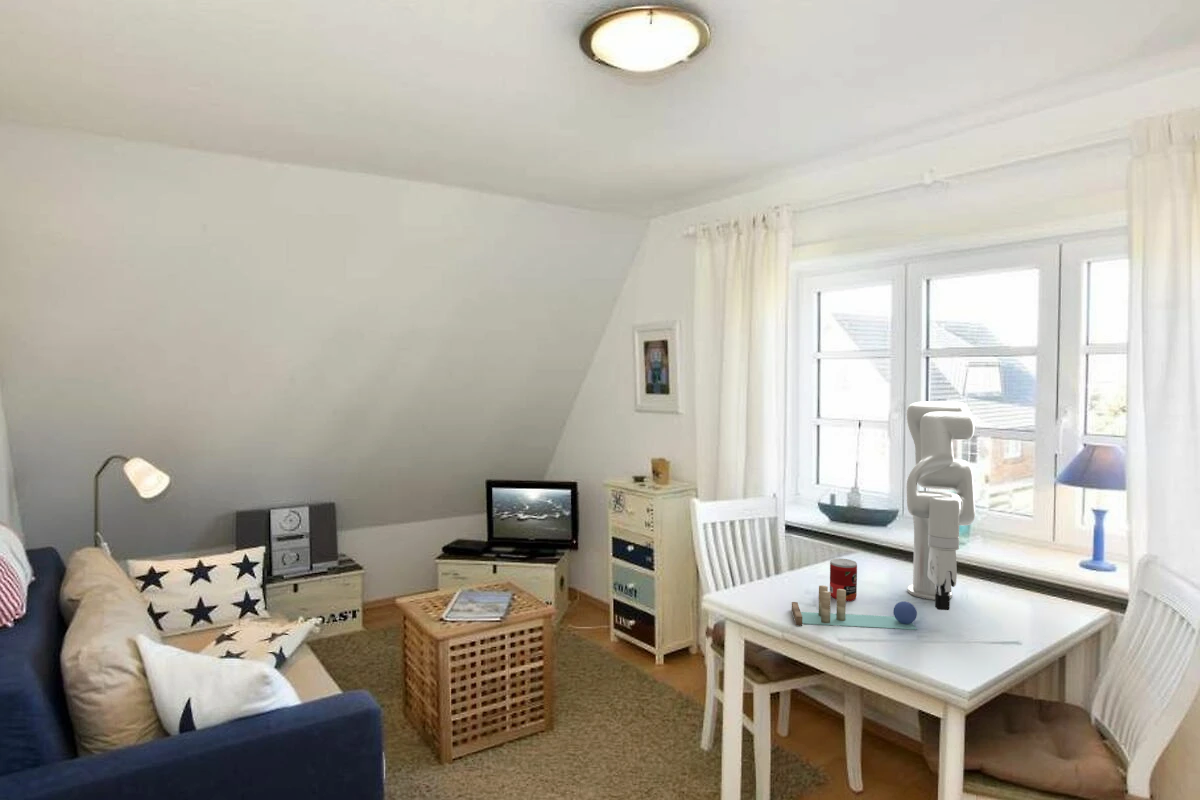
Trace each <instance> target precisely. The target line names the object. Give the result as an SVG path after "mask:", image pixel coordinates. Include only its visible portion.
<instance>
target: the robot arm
mask: <svg viewBox="0 0 1200 800" xmlns="http://www.w3.org/2000/svg"><path fill="white" fill-rule="evenodd" d="M906 423H907V427H908V431H909V432H910V435H911V438H912V440H913V443H914V448H915V451H914V453H915V466H914V467H912V469H911V471H910V472H909V474H908V477H907V480H906V505H907V506H906V507H907V510H908V513H909V514H910V515H911V516H912V520H913V563H912V564H913V569H912V576H913V579H912V584H909V585H908V586H907V593H909V594H910V595H912V596H915V597H918V598H922V599H925V598H926V599H925V600H933V601H934V602H935V603H934V606H935V609H937V610H938V611H950V599H951V598H952V597H953V592H952V588H955V586H957V577H958V576H957V575H958V574H957V566H958V565H957V551H958V550H959V549H960V548H959V547H960V526H969V525H972V524H973V522H974V520H975V517H976V508H975V507H976V506H975V505H976V504H975V487H974V476H973V475H974V474H973V469H972V466H971V464H970V463H969V462H968V461H966V460H965V459H956V458H954V447H953V446H954V445H953V441H969V440H971V439H972V438H973V436H974V433H975V421H974V417H973V414H972V412H971V411H970V408H969V406H968V405H967V404H966V403H964V402H962V401H961V402H960V401H935V400H934V401H927V400H926V401H917V402H913V403H911V404H909V406H908V407H907V410H906ZM918 486H919V487H921V488H924V489H931V490H947V491H948V490H949V492H945V491H931V490H929V491H928V490H918ZM950 491H954V492H950Z"/></svg>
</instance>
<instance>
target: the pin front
mask: <svg viewBox="0 0 1200 800" xmlns="http://www.w3.org/2000/svg"><path fill="white" fill-rule="evenodd" d="M846 604H847V601H846V590H844V589H837V600H836V613H835V614H836V619H837V620H839V621H845V616H846V614H847V613H846V612H847V611H846V608H847V605H846Z"/></svg>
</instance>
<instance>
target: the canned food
mask: <svg viewBox="0 0 1200 800" xmlns="http://www.w3.org/2000/svg"><path fill="white" fill-rule="evenodd" d="M857 582H858V563H857V562H856V561H855V560H852V559H848V558H833V559H830V562H829V592H830V593H831V599H834V600H835V601H837V589H844V590H846V602H852V600H853V601H856V599H857V594H858V593H857V592H858V591H857V588H858V587H857V586H858V583H857Z"/></svg>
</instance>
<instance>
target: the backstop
mask: <svg viewBox="0 0 1200 800" xmlns="http://www.w3.org/2000/svg"><path fill="white" fill-rule="evenodd" d="M801 612H802V611H801V609H800V606H799V603H798V602H797V601H792V602H791V613H792V617H793V616H794V617H793V619H795V620H794V623H795V625H799V627H801V626H802V627H803V624H802V614H801ZM800 625H801V626H800Z"/></svg>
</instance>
